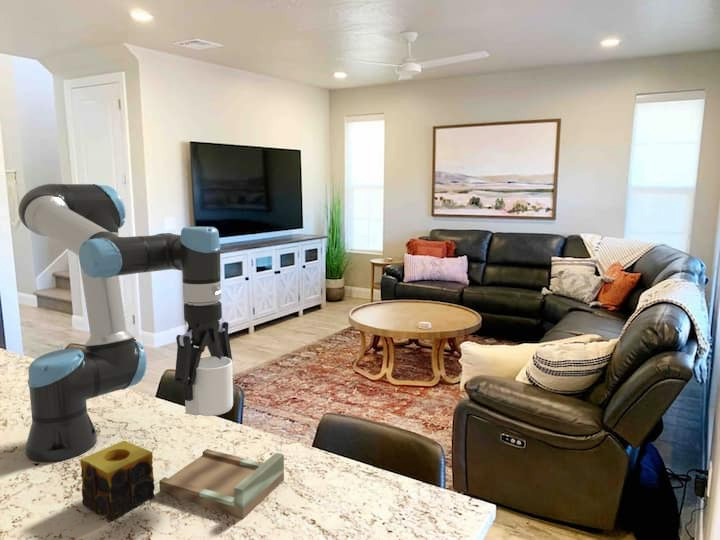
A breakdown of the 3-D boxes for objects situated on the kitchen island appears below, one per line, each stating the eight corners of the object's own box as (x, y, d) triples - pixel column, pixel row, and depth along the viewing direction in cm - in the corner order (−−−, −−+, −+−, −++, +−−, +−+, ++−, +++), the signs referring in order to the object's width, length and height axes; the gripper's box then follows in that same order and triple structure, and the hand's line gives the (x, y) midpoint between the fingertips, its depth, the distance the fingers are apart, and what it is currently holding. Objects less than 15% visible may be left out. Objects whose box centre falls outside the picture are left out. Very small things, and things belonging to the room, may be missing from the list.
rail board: (159, 493, 109) (158, 466, 108) (207, 460, 122) (206, 436, 122) (243, 518, 101) (242, 490, 100) (284, 480, 114) (283, 454, 113)
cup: (210, 420, 104) (209, 371, 103) (173, 406, 111) (171, 360, 110) (241, 406, 111) (240, 360, 110) (204, 394, 118) (203, 350, 116)
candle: (110, 523, 99) (107, 474, 97) (80, 505, 104) (77, 459, 103) (156, 497, 108) (154, 452, 106) (126, 482, 113) (124, 439, 111)
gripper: (181, 313, 96) (186, 429, 100) (247, 294, 116) (249, 391, 119) (150, 310, 99) (156, 422, 103) (220, 291, 119) (223, 386, 122)
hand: (206, 405), depth 111 cm, fingers closed on cup, 8 cm apart
